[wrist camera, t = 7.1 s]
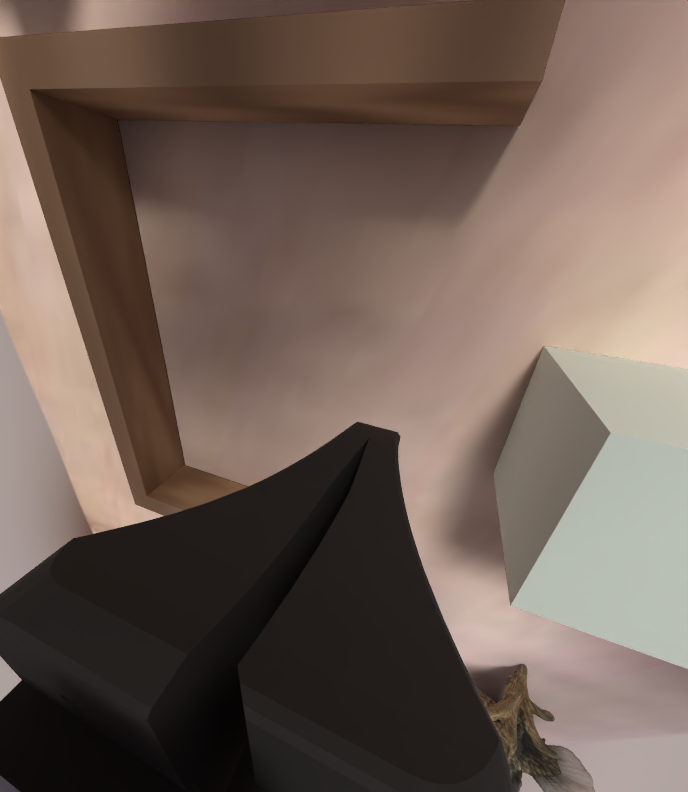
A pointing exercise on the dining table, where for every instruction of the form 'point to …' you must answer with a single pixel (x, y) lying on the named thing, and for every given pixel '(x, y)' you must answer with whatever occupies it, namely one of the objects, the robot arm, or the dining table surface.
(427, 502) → the dining table surface
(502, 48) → the wooden frame
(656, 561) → the cube
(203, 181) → the dining table surface
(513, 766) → the eagle figurine
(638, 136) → the dining table surface
